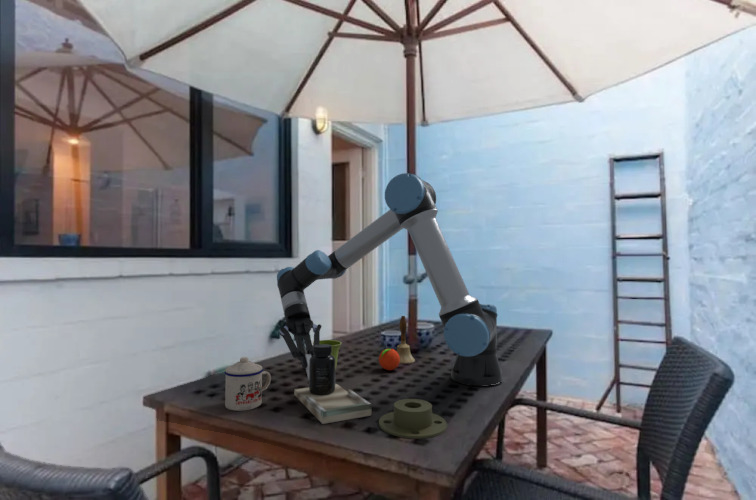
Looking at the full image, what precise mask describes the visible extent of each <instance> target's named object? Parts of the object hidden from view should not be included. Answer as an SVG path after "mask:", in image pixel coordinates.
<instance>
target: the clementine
mask: <svg viewBox="0 0 756 500" xmlns="http://www.w3.org/2000/svg"><path fill="white" fill-rule="evenodd" d="M378 362H379V365H380V367H381V368H382V369H384V370H385V371H393V370H396V369H397V368H398V367H399V365H400V356H399V354H398V353H397V350H395V349H394V348H391V347H388V348H385V349H383V350H382V351H381V352H380V353H379V356H378Z"/></svg>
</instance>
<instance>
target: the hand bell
mask: <svg viewBox="0 0 756 500" xmlns="http://www.w3.org/2000/svg"><path fill="white" fill-rule="evenodd" d="M407 328H408V323H407V318H406V316H405V315H400V321H399V331H400V344H398V345H397V346H396V351H397V353H398V354H399V356H400V363H399V365H400V364H401V365H402V364H413V363H415V362H416V360H415V358H414V357H413V356H412V353H411V347H410V345H409V344H407V343H406V341H407V340H406V334H407V333H406V332H407Z"/></svg>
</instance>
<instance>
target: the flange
mask: <svg viewBox="0 0 756 500" xmlns="http://www.w3.org/2000/svg"><path fill="white" fill-rule="evenodd" d="M393 403H394V404H393V411H390V412H387V413H384V414H383V415H382V416H381V417H379V419H378V426H379V428H380V430H381V431H384V432H385V433H386V434H388V435H391V436H395V437H399V438H404V439H413V440H414V439H416V440H417V439H429V438H433V437H437V436H440V435H442V434H444V432H446V430H447V429H448V424H447V423H448V422H447V420H446V419H444V418H443V417H442V416H440V415H438V414H436V413H433V404H432V403H431V402H429V401H427V400H424V399H418V398H403V399H399V400H397V401H395V402H393Z"/></svg>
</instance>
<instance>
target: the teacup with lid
mask: <svg viewBox="0 0 756 500" xmlns="http://www.w3.org/2000/svg"><path fill="white" fill-rule="evenodd" d="M224 375H225V388H224V389H225V390H224V391H225V392H224V393H225V395H224V402H225V403H224V406H225V408H226V409H227V410H230V411H237V412H238V411H240V412H241V411H249V410H250V411H251V410H254V409H256V408H258V407H260V406H261V405H262V404H263V403H262V396H263V395H262V394H263V391H266V390H267V389H268V387H269V385H270V384H271V379H272V376H271V373H270V372H268V371H265V370H264V368H263V366H262V365H260V364H259V363H254V362H253V361H251V360H250V361H249V357H247V356H244V357H240V359H239V361H237V362H236V363H234V364H231V365H230V366H228V367H226V368H225V371H224ZM263 375H266V381H265V383H264V385H263V384H262V383H263Z"/></svg>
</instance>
